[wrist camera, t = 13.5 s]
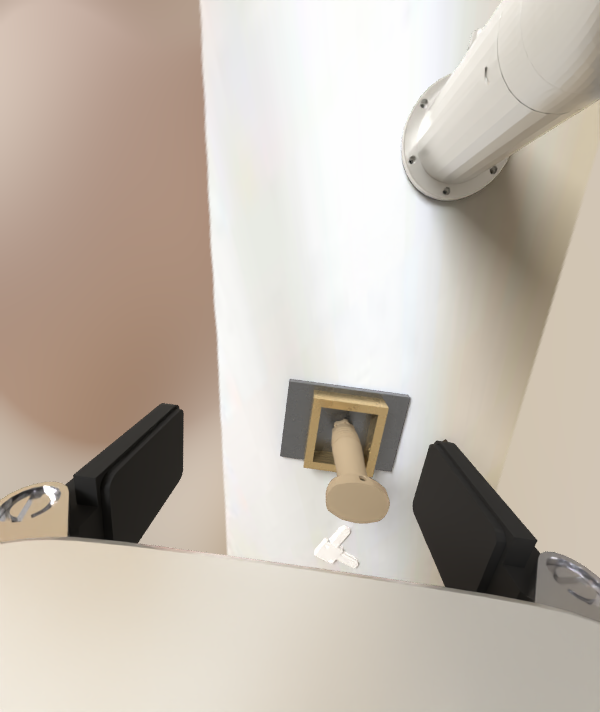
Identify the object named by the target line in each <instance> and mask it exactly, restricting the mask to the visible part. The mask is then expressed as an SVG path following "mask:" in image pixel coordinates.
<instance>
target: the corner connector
mask: <svg viewBox="0 0 600 712" xmlns="http://www.w3.org/2000/svg"><path fill="white" fill-rule="evenodd" d="M349 534H350V528H349V527H347V526H345V525H343V526H341V527H339V528H338V530H337V531H336V532H335V533H334V534H333V535H332V537H331V538H330V539H329V540H328V538H326V537H325V538H324V540H323V541H322V542H321V543H320V544H319V546H318V547H317V548H316V549H315V550H314V551H315V554H314V556H316V557H318V558H320V559H322V560H324V561H326V562H328V563H330V564H333V562H334V561H335V560H338V561H340V562H342V563H344V564H346V565H348V566H350V567H352V568H356V567H357V566H358V560H357V558H356V557H354V556H352V555H350V554H348V553H346V552H344V551H343V546H341V545H340V544H341V543H342V542H343V541H344V540H345V539H346V537H347V536H348V535H349ZM339 545H340V546H339Z"/></svg>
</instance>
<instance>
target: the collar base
mask: <svg viewBox="0 0 600 712" xmlns="http://www.w3.org/2000/svg"><path fill="white" fill-rule="evenodd" d="M409 400H410V397H409V396H408V395H405V394H398V393H390V392H383V391H376V390H368V389H361V388H353V387H346V386H339V385H331V384H324V383H316V382H309V381H302V380H294V379H290V381H289V388H288V396H287V405H286V413H285V421H284V429H283V437H282V445H281V454H280V456H282V457H290V458H297V459H304V468H311V469H318V470H325V471H332V472H337V471H336V466H335V462H334V457H333V452H332V429H333V428H334V423H335V422H336V421H341V420H343V419H347V420H348V422H349V423H350V424H352V425H353V426H354V428H355V431H356V433H357V435H358V437H359V440H360V443H361V446H362V451H363V457H364V462H365V467H366V472H367V476H368V477H373V473H374V469H376V470H383V471H392V467H393V463H394V459H395V455H396V451H397V447H398V443H399V440H400V436H401V432H402V428H403V424H404V420H405V416H406V412H407V408H408V404H409Z"/></svg>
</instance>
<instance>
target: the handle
mask: <svg viewBox="0 0 600 712" xmlns="http://www.w3.org/2000/svg"><path fill="white" fill-rule="evenodd" d="M332 452H333V457H334V462H335V466H336V471H337V477H335V478H334V479H332V480H331V481H330V483H329V485H328V487H327V490H326V506H327V509H328V511H330V512H331V513H332V514H334V515H335V516H337V517H338V518H340V519H342V520H346V521H350V522H354V523H372V522H378V521H380V520H381V519H383V518H384V517H385V515H386V514H387V512H388V509H389V505H390V502H389V498H388V495H387V492H386V489H385V488H384V487H383V486H382V485H380V484H379V483H378V482H376V481H375V480H373V479H372V478H370V477H368V476H367V472H366V467H365V462H364V457H363V451H362V446H361V443H360V440H359V437H358V435H357V433H356V431H355V428H354V426H353V425H352V424H350V423H349V422H348V420H347V419H343V420H341V421H336V422H335V423H334V428H333V429H332Z"/></svg>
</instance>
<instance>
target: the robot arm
mask: <svg viewBox="0 0 600 712" xmlns="http://www.w3.org/2000/svg"><path fill="white" fill-rule="evenodd" d="M599 99H600V0H502V1H501V2H500V4H499V5H498V7H497V8H496V10H495V11H494V13H493V14H492V16H491V17H490V19H489V20H488V22H487V23H486V25H485V26H484V28H481V29H477V30H475V31H474V32H473V33H472V34H471V37H470V41H469V46H468V50H467V53H466V54H465V56H464V57H463V59H462V60H461V62H460V63H459V65H458V66H457V68H456V69H455V71H454V72H453V73H451V74H449V75H447V76H445V77H443V78H441V79H439V80H438V81H436V82H435V83H434V84H432V85H431V86H430V87H429V88H428V89H427V90H426V91H425V92H424V93H423V94H422V95H421V96H420V98H419V99H418V101H417V103H416V104H415V106H414V107H413V109H412V111H411V113H410V114H409V116H408V119H407V122H406V124H405V127H404V131H403V136H402V144H401V154H402V161H403V165H404V168H405V171H406V174H407V176H408V177H409V179H410V181H411V182H412V184H413V185H414V186H415V187H416V188H417V189H418V190H419V191H420V192H422V193H423V194H425V195H426V196H429V197H431V198H433V199H437V200H443V201H450V200H458V199H462V198H465V197H467V196H470V195H472V194H474V193H476V192H477V191H479V190H481V189H483V188H484V187H485V186H486V185H488V184H489V183H490V182H491V181H492V180H493V179H494V178H495V177H496V176H497V175H498V174H499V173H500V171H501V170H502V168H503V167H504V165H505V164H506V162H507V160H508V158H509V156H510V155H512V154H514V153H515V152H517V151H518V150H520V149H522V148H523V147H525V146H526V145H528V144H529V143H531V142H533V141H534V140H536V139H537V138H539V137H541V136H542V135H544V134H545V133H547V132H549V131H550V130H552V129H553V128H555V127H557V126H558V125H560V124H561V123H563V122H565V121H566V120H568V119H569V118H571V117H572V116H574V115H576V114H577V113H579V112H580V111H582V110H584V109H585V108H587V107H588V106H590V105H592V104H593V103H595V102H596V101H598V100H599ZM421 106H422V107H423V108H421ZM409 161H412V164H410V163H409ZM490 172H491V173H490ZM443 191H445V195H444V194H443ZM182 472H183V410H180V409H179V406H178V405H173V404H165V403H162V404H160V405H159V406H157V407H156V408H155V409H154V410H153V411H151V412H150V413H149V414H148V415H146V416H145V417H144V418H143V419H141V420H140V421H139V422H138V423H137V424H135V425H134V426H133V427H132V428H131V429H129V430H128V431H127V432H126V433H124V434H123V435H122V436H121V437H119V438H118V439H117V440H116V441H115V442H113V443H112V444H111V445H110V446H108V447H107V448H106V449H105V450H103V451H102V452H101V453H100V454H99V455H97V456H96V457H95V458H94V459H92V460H91V461H90V462H89V463H88V464H86V465H85V466H84V467H83V468H81V469H80V470H79V471H78V472H76V474H74V475H73V477H74V478H73V479H72V480H70V482H68V483H67V484H66V485H64V484H62V483H59V482H43V483H37V484H33V485H29V486H27V487H23V488H21V489H19V490H17V491H14V492H12V493H10V494H9V495H7V496H5V497H4V498H2V499H1V500H0V712H600V578H599V577H598V576H597V575H595V574H594V573H593V572H591V571H590V570H589V569H587V568H586V567H585V566H583V565H581V564H580V563H578V562H576V561H575V560H573V559H571V558H568V557H566V556H564V555H561V554H558V553H555V552H543V553H541V554H540V553H539V551H538V550H537V549H536V548H535V547H534V546H535V544H536V542H537V540H536V539H535V537H534V536H533V535H532V534H531V532H530V531H529V530H528V529H527V528H526V527H525V525H524V524H523V523H522V522H521V521H520V520H519V519H518V517H517V516H516V515H515V514H514V513H513V511H512V510H511V509H510V508H509V507H508V506H507V504H506V503H505V502H504V501H503V500H502V499H501V497H500V496H499V495H498V494H497V493H496V492H495V490H494V489H493V488H492V487H491V486H490V485H489V483H488V482H487V481H486V480H485V479H484V477H483V476H482V475H481V474H480V473H479V472H478V470H477V469H476V468H475V467H474V466H473V465H472V463H471V462H470V461H469V460H468V459H467V458H466V456H465V455H464V454H463V453H462V452H461V451H460V449H459V448H458V447H457V446H456V445H455V444H454V443H450V442H443V441H436V442H435V443H434V444H431V445H430V446H429V449H428V452H427V456H426V459H425V462H424V466H423V469H422V473H421V476H420V480H419V483H418V486H417V490H416V493H415V497H414V500H413V512H414V515H415V517H416V519H417V522H418V524H419V526H420V529H421V531H422V534H423V536H424V538H425V541H426V543H427V545H428V548H429V550H430V552H431V555H432V557H433V559H434V562H435V564H436V566H437V569H438V571H439V573H440V576H441V578H442V580H443V583H444V585H445V587H441V586H434V585H427V584H421V583H414V582H407V581H401V580H394V579H387V578H381V577H374V576H367V575H361V574H354V573H347V572H340V571H333V570H326V569H319V568H312V567H306V566H298V565H291V564H284V563H277V562H270V561H263V560H256V559H249V558H242V557H235V556H227V555H220V554H212V553H205V552H198V551H190V550H183V549H175V548H169V547H161V546H153V545H145V544H138V542H139V540H140V539H141V538H142V536H143V534H144V533H145V531H146V530H147V529H148V527H149V526H150V524H151V522H152V521H153V520H154V518H155V517H156V515H157V514H158V512H159V510H160V509H161V507H162V506H163V505H164V503H165V502H166V500H167V499H168V497H169V495H170V494H171V493H172V491H173V490H174V488H175V486H176V485H177V484H178V482H179V480H180V479H181V476H182Z"/></svg>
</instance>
